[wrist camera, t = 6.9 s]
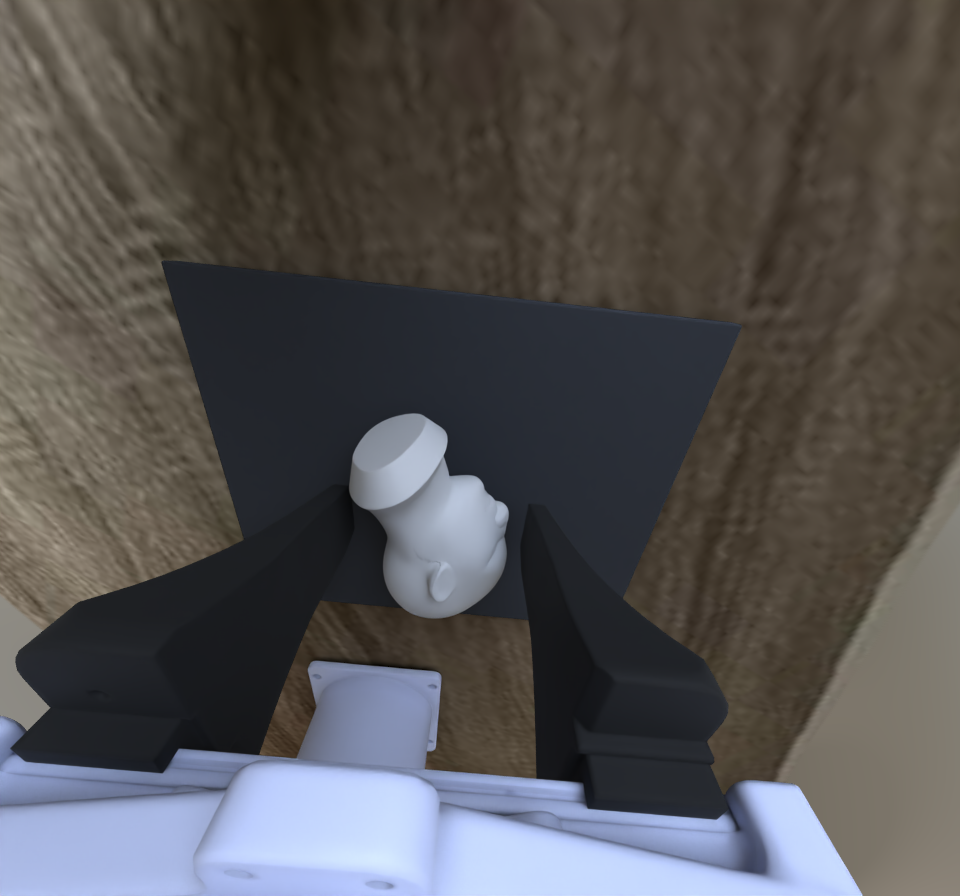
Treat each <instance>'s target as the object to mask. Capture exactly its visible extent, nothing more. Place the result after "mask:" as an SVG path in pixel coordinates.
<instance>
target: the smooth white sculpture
mask: <svg viewBox="0 0 960 896" xmlns="http://www.w3.org/2000/svg"><path fill="white" fill-rule="evenodd" d="M446 447H447V434H446V432H445V431H444V429H442V428H441V427H440V426H438V425H437V424H435V423H434V422H432V421H431V420H429V419H428V418H426V417H425V416H423V415H421V414H404V415H399V416H395V417H392V418H389V419H387V420H385V421H383V422H381V423H379V424H377V425H376V426H374V427H373V428H372V429H370V430H369V431H368V432H367V433H366V434H365V436H364V437H363V438H362V440H361V441H360V442H359V444H358V446H357V447H356V449H355V451H354V454H353V458H352V466H351V475H350V483H349V492H350V495H351V497H352V499H353V500H354V502H355V503H356V504H357V505H358V506H360V507H362V508H364V509H366V510H369V511H370V512H371V513H372V514H373V515H374V516H375V517H376V518H377V519H378V520H379V522H380V523H381V524H382V526H383V528H384V529H385V531H386V534H387V544H386V548H385V552H384V558H383V573H384V579H385V583H386V585H387V588H388V590H389V592H390V594H391V595H392V597H393V598H394V599H395V601H396V602H397V603H398V604H399V605H400V606H401V607H402V608H404V609H405V610H407V611H408V612H410V613H412V614H414V615H417V616H420V617H424V618H444V617H449V616H453V615H456V614H458V613H461V612H463V611H465V610H466V609H468V608H470V607H471V606H473V605H474V604H476V603H477V602H478V601H480V600H481V599H482V598H483V597H484V596H486V595H487V594H488V593H489V592H490V591H491V590H492V588H493V587H494V586H495V585H496V583H497V582H498V580H499V579H500V577H501V575H502V573H503V570H504V567H505V563H506V558H507V548H506V542H505V538H504V534H505V531H506V526H507V522H508V518H509V511H508V508H507V506H506V505H505V504H504V503H502V502H500V501H495V500H494V499H493V497H492V496H491V495H489V494H488V493H487V492H486V491H485V490H484V485H483V483H482V481H481V480H480V479H479V478H478V477H476V476H472V475H458V476H449V472H448V469H447V465H446V462H445V459H444V456H443V455H444V453H445V451H446Z"/></svg>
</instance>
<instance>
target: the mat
mask: <svg viewBox="0 0 960 896" xmlns="http://www.w3.org/2000/svg"><path fill="white" fill-rule="evenodd" d="M162 266H163V270H164V273H165V276H166V280H167V283H168V286H169V290H170V293H171V296H172V300H173V303H174V306H175V310H176V313H177V316H178V320H179V323H180V326H181V330H182V333H183V337H184V340H185V343H186V347H187V350H188V353H189V357H190V360H191V363H192V367H193V370H194V373H195V377H196V380H197V383H198V387H199V390H200V393H201V397H202V400H203V403H204V407H205V410H206V413H207V417H208V420H209V424H210V427H211V430H212V434H213V437H214V440H215V444H216V447H217V450H218V454H219V457H220V460H221V464H222V467H223V470H224V474H225V477H226V480H227V484H228V487H229V490H230V494H231V497H232V500H233V504H234V507H235V511H236V514H237V517H238V521H239V524H240V527H241V531H242V534H243V537H244V540H245V539H246V538H248V537H250V536H252V535H254V534H256V533H258V532H259V531H261V530H263V529H264V528H266V527H268V526H269V525H271V524H273V523H274V522H276V521H278V520H279V519H281V518H283V517H284V516H286V515H288V514H289V513H291V512H292V511H294V510H295V509H297V508H298V507H300V506H301V505H303V504H305V503H306V502H308V501H309V500H311V499H312V498H313V497H315V496H316V495H318V494H319V493H321V492H322V491H324V490H325V489H327V488H328V487H330V486H332V485H333V484H338V485H348V486H349V483H350V475H351V466H352V458H353V454H354V451H355V449H356V447H357V446H358V444H359V442H360V441H361V440H362V438H363V437H364V436H365V434H366V433H367V432H368V431H369V430H370V429H372V428H373V427H374V426H376V425H377V424H379V423H381V422H383V421H385V420H387V419H389V418H392V417H395V416H399V415H404V414H421V415H423V416H425V417H426V418H428V419H429V420H431V421H432V422H434V423H435V424H437V425H438V426H440V427H441V428H442V429H444V431H445V432H446V434H447V447H446V451H445V453H444V455H443V456H444V459H445V462H446V465H447V469H448V472H449V476H458V475H472V476H476V477H478V478H479V479H480V480H481V481H482V483H483V485H484V490H485V491H486V492H487V493H488V494H489V495H491V496H492V497H493V499H494V500H495V501H500V502H502V503H504V504H505V505H506V506H507V508H508V511H509V518H508V522H507V526H506V531H505V534H504V538H505V542H506V548H507V558H506V563H505V567H504V570H503V573H502V575H501V577H500V579H499V580H498V582H497V583H496V585H495V586H494V587H493V588H492V590H491V591H490V592H489V593H488V594H487V595H486V596H484V597H483V598H482V599H481V600H480V601H478V602H477V603H476V604H474V605H473V606H471V607H470V608H468V609H466V610H465V611H463V612H461V613H460V614H471V615H482V616H492V617H503V618H514V619H524V620H528V613H527V607H526V600H525V594H524V588H523V581H522V574H521V559H520V543H521V538H522V534H523V529H524V524H525V519H526V514H527V509H528V504H539V505H545V506H546V507H547V508H548V510H549V511H550V513H551V514H552V516H553V517H554V519H555V520H556V522H557V523H558V525H559V526H560V528H561V529H562V531H563V532H564V534H565V535H566V536H567V538H568V539H569V540H570V542H571V543H572V544H573V546H574V547H575V548H576V550H577V551H578V552H579V554H580V555H581V556H582V557H583V558H584V560H585V561H586V562H587V563H588V564H589V566H590V567H591V568H592V569H593V570H594V571H595V572H596V573H597V574H598V575H599V576H600V577H601V578H602V579H603V580H604V582H605V583H606V584H607V585H608V586H609V587H610V588H611V589H613V590H614V591H615V592H616V593H617V594H618V595H619V596H620V597H621V598H622V599H623V596H624V594H625V592H626V589H627V587H628V585H629V583H630V580H631V578H632V576H633V574H634V571H635V569H636V567H637V564H638V562H639V560H640V558H641V555H642V553H643V551H644V548H645V546H646V544H647V542H648V539H649V537H650V535H651V533H652V530H653V528H654V526H655V523H656V521H657V519H658V517H659V514H660V512H661V510H662V507H663V505H664V503H665V501H666V498H667V496H668V494H669V491H670V489H671V487H672V485H673V482H674V480H675V478H676V476H677V473H678V471H679V469H680V466H681V464H682V462H683V460H684V457H685V455H686V453H687V450H688V448H689V446H690V444H691V441H692V439H693V437H694V435H695V432H696V430H697V428H698V425H699V423H700V421H701V419H702V416H703V414H704V412H705V409H706V407H707V405H708V403H709V400H710V398H711V396H712V394H713V391H714V389H715V387H716V384H717V382H718V380H719V378H720V375H721V373H722V371H723V368H724V366H725V364H726V362H727V359H728V357H729V355H730V353H731V350H732V348H733V346H734V343H735V341H736V339H737V337H738V334H739V332H740V330H741V327H742V326H741V325H740V324H736V323H732V322H723V321H714V320H705V319H696V318H687V317H678V316H669V315H660V314H651V313H642V312H633V311H624V310H615V309H606V308H597V307H588V306H579V305H570V304H561V303H552V302H543V301H534V300H525V299H516V298H507V297H498V296H489V295H480V294H471V293H462V292H453V291H444V290H435V289H426V288H417V287H408V286H399V285H390V284H381V283H372V282H363V281H354V280H345V279H336V278H327V277H318V276H309V275H300V274H291V273H282V272H273V271H264V270H255V269H246V268H237V267H228V266H219V265H210V264H201V263H192V262H183V261H162ZM352 505H353V516H354V526H355V529H354V532H353V535H352V538H351V540H350V543H349V546H348V548H347V551H346V553H345V555H344V557H343V559H342V561H341V563H340V565H339V567H338V568H337V570H336V572H335V574H334V576H333V578H332V580H331V581H330V583H329V585H328V587H327V589H326V591H325V592H324V594H323V596H322V598H321V600H322V601H332V602H343V603H354V604H364V605H375V606H386V607H396V608H402V607H401V606H400V605H399V604H398V603H397V602H396V601H395V599H394V598H393V597H392V595H391V594H390V592H389V590H388V588H387V585H386V583H385V579H384V573H383V558H384V552H385V548H386V544H387V534H386V531H385V529H384V528H383V526H382V524H381V523H380V522H379V520H378V519H377V518H376V517H375V516H374V515H373V514H372V513H371V512H370V511H369V510H366V509H364V508H362V507H360V506H358V505H357V504H356V503H355V502H354V500H353V499H352Z"/></svg>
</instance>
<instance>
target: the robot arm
mask: <svg viewBox="0 0 960 896" xmlns="http://www.w3.org/2000/svg"><path fill="white" fill-rule="evenodd" d="M354 529H355V526H354V516H353V505H352V497H351V495H350V492H349V486H348V485H338V484H333V485H332V486H330V487H328V488H327V489H325V490H324V491H322V492H321V493H319V494H318V495H316V496H315V497H313V498H312V499H311V500H309V501H308V502H306V503H305V504H303V505H301V506H300V507H298V508H297V509H295V510H294V511H292V512H291V513H289V514H288V515H286V516H284V517H283V518H281V519H279V520H278V521H276V522H274V523H273V524H271V525H269V526H268V527H266V528H264V529H263V530H261V531H259V532H258V533H256V534H254V535H252V536H250V537H248V538H246V539H245V540H243V541H241V542H239V543H237V544H235V545H233V546H231V547H229V548H227V549H224V550H222V551H220V552H218V553H216V554H213V555H211V556H209V557H206V558H204V559H202V560H199V561H197V562H195V563H192V564H190V565H188V566H185V567H183V568H180V569H178V570H175V571H172V572H170V573H167V574H165V575H162V576H159V577H156V578H153V579H151V580H148V581H145V582H142V583H139V584H136V585H133V586H130V587H127V588H123V589H120V590H117V591H114V592H110V593H107V594H104V595H101V596H97V597H94V598H91V599H87V600H84V601H80V602H78V603H77V604H76V605H74V606H73V607H72V608H71V609H69V610H68V611H67V612H66V613H65V614H63V615H62V616H61V617H60V618H58V619H57V620H56V621H55V622H54V623H52V624H51V625H50V626H49V627H47V628H46V629H45V630H44V631H42V632H41V633H40V634H39V635H38V636H36V637H35V638H34V639H33V640H31V641H30V642H29V643H28V644H27V645H25V646H24V647H23V648H22V649H20V650H19V652H18V654H17V656H16V667H17V671H18V672H19V673H20V675H21V676H22V678H23V679H24V680H25V681H26V682H27V683H28V684H29V685H30V686H31V687H32V689H33V690H34V691H35V692H36V693H37V694H38V695H39V696H40V697H41V698H42V699H43V700H44V701H45V702H46V703H47V705H49V707H51V708H50V709H49V710H48V711H47V712H46V713H45V714H44V715H43V716H42V717H41V718H40V719H39V720H38V721H37V722H36V723H35V724H34V725H33V726H32V727H31V728H30V729H29V730H28V731H26V729H25V728H24V727H23V726H22V725H21V724H19V723H18V722H16V721H15V720H13V719H10V718H7V717H4V716H0V896H863V895H862V893H861V892H860V890H859V888H858V887H857V885H856V883H855V881H854V880H853V878H852V876H851V875H850V873H849V872H848V870H847V868H846V866H845V865H844V863H843V861H842V859H841V858H840V856H839V854H838V853H837V851H836V849H835V848H834V846H833V844H832V843H831V841H830V839H829V837H828V836H827V834H826V832H825V830H824V829H823V827H822V825H821V824H820V822H819V820H818V819H817V817H816V815H815V813H814V812H813V810H812V809H811V807H810V805H809V804H808V802H807V800H806V798H805V797H804V795H803V793H802V792H801V790H800V788H799V787H798V786H796V785H795V784H792V783H781V782H769V781H757V780H744V781H740V782H737V783H735V784H733V785H732V786H731V787H730V788H729V789H728V790H727V792H726V794H725V795H723V794H722V792H721V789H720V787H719V785H718V783H717V780H716V778H715V776H714V773H713V771H712V769H711V766H710V765H712V764H713V763H714V757H713V754H712V752H711V750H710V748H709V746H708V743H707V740H708V739H709V738H710V737H711V736H712V735H713V733H714V732H715V731H716V730H717V729H718V728H719V727H720V725H721V724H722V723H723V721H724V720H725V718H726V716H727V714H728V703H727V701H726V699H725V697H724V695H723V693H722V691H721V689H720V687H719V685H718V683H717V681H716V680H715V678H714V676H713V674H712V672H711V671H710V669H709V667H708V666H707V664H706V663H705V661H704V659H702V658H701V657H699V656H698V655H696V654H695V653H693V652H692V651H691V650H689V649H688V648H686V647H685V646H683V645H682V644H680V643H679V642H677V641H676V640H674V639H673V638H671V637H670V636H668V635H667V634H666V633H664V632H663V631H662V630H660V629H659V628H658V627H656V626H655V625H654V624H652V623H651V622H650V621H648V620H647V619H646V618H645V617H643V616H642V615H641V614H640V613H639V612H637V611H636V610H635V609H634V608H633V607H631V606H630V605H629V604H628V603H627V602H626V601H625V600H623V599H622V598H621V597H620V596H619V595H618V594H617V593H616V592H615V591H614V590H613V589H611V588H610V587H609V586H608V585H607V584H606V583H605V582H604V580H603V579H602V578H601V577H600V576H599V575H598V574H597V573H596V572H595V571H594V570H593V569H592V568H591V567H590V566H589V564H588V563H587V562H586V561H585V560H584V558H583V557H582V556H581V555H580V554H579V552H578V551H577V550H576V548H575V547H574V546H573V544H572V543H571V542H570V540H569V539H568V538H567V536H566V535H565V534H564V532H563V531H562V529H561V528H560V526H559V525H558V523H557V522H556V520H555V519H554V517H553V516H552V514H551V513H550V511H549V510H548V508H547V507H546V506H545V505H539V504H528V509H527V514H526V519H525V524H524V529H523V534H522V538H521V543H520V559H521V574H522V581H523V588H524V594H525V600H526V607H527V613H528V620H529V626H530V634H531V644H532V661H533V680H534V701H535V731H536V773H537V779H532V778H520V777H509V776H497V775H485V774H473V773H462V772H450V771H438V770H426V769H425V762H426V755H427V751H433V750H434V749H435V748H436V739H437V727H438V714H439V702H440V690H441V678H442V677H441V675H440V673H438V672H435V671H426V670H415V669H404V668H393V667H382V666H371V665H360V664H349V663H338V662H327V661H313V662H311V663H310V665H309V667H308V673H309V677H310V682H311V686H312V690H313V694H314V698H315V702H316V707H317V708H316V710H315V713H314V715H313V718H312V720H311V723H310V725H309V728H308V730H307V733H306V735H305V738H304V740H303V743H302V745H301V748H300V750H299V753H298V755H297V758H285V757H273V756H262V755H259V753H260V750H261V747H262V744H263V742H264V739H265V736H266V733H267V730H268V727H269V724H270V721H271V718H272V715H273V713H274V710H275V707H276V705H277V702H278V699H279V697H280V694H281V691H282V688H283V686H284V683H285V680H286V678H287V675H288V673H289V670H290V668H291V665H292V663H293V660H294V658H295V655H296V653H297V650H298V648H299V645H300V643H301V640H302V638H303V636H304V633H305V631H306V629H307V626H308V624H309V621H310V619H311V617H312V615H313V613H314V611H315V609H316V607H317V605H318V604H319V602H320V600H321V598H322V596H323V594H324V592H325V591H326V589H327V587H328V585H329V583H330V581H331V580H332V578H333V576H334V574H335V572H336V570H337V568H338V567H339V565H340V563H341V561H342V559H343V557H344V555H345V553H346V551H347V548H348V546H349V543H350V540H351V538H352V535H353V532H354Z"/></svg>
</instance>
